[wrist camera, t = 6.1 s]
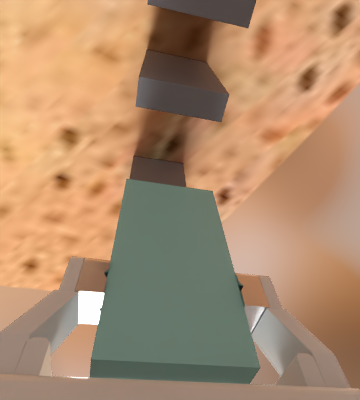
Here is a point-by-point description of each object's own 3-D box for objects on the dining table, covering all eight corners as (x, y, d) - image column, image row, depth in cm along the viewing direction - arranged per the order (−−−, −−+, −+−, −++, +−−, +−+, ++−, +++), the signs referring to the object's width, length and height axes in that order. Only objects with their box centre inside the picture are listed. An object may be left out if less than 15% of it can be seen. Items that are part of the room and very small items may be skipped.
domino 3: (133, 155, 29) (122, 218, 21) (183, 163, 30) (191, 226, 21) (132, 170, 30) (120, 235, 22) (180, 177, 31) (186, 242, 22)
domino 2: (146, 49, 24) (139, 76, 15) (206, 62, 24) (229, 94, 16) (144, 70, 25) (135, 106, 16) (201, 82, 25) (221, 122, 17)
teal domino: (126, 178, 16) (91, 359, 8) (212, 191, 17) (260, 367, 9) (124, 202, 17) (89, 386, 9) (205, 212, 18) (243, 392, 10)
